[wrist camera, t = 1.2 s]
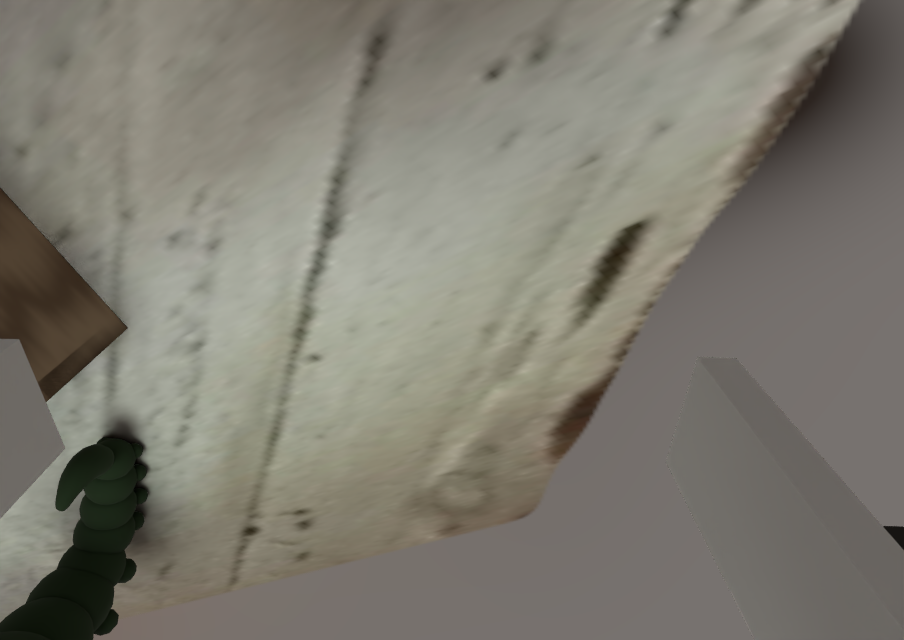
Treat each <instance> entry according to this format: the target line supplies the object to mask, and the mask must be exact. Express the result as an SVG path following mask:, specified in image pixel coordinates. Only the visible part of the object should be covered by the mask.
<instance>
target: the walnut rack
mask: <svg viewBox="0 0 904 640" xmlns="http://www.w3.org/2000/svg"><path fill="white" fill-rule="evenodd" d="M126 329H127V327H126V326H125V325H124V324H123V323H122V321H121V320H120V319H119V318H118V317H117V316H116V315H115V314H114V313H113V312H112V310H111V309H110V308H109V307H108V306H107V305H106V304H105V303H104V302H103V301H102V299H101V298H100V297H99V296H98V295H97V294H96V293H95V292H94V291H93V290H92V289H91V287H90V286H89V285H88V284H87V283H86V282H85V281H84V280H83V279H82V278H81V276H80V275H79V274H78V273H77V272H76V271H75V270H74V269H73V268H72V267H71V265H70V264H69V263H68V262H67V261H66V260H65V259H64V258H63V257H62V256H61V254H60V253H59V252H58V251H57V250H56V249H55V248H54V247H53V246H52V245H51V243H50V242H49V241H48V240H47V239H46V238H45V237H44V236H43V235H42V234H41V232H40V231H39V230H38V229H37V228H36V227H35V226H34V225H33V224H32V223H31V221H30V220H29V219H28V218H27V217H26V216H25V215H24V214H23V213H22V212H21V211H20V209H19V208H18V207H17V206H16V205H15V204H14V203H13V202H12V201H11V200H10V198H9V197H8V196H7V195H6V194H5V193H4V192H3V191H2V190H1V189H0V339H19V340H20V343H21V345H22V347H23V350H24V352H25V354H26V357H27V359H28V361H29V364H30V366H31V368H32V371H33V373H34V376H35V378H36V380H37V383H38V385H39V387H40V390H41V392H42V394H43V397H44V399H45V402H47V401H48V400H49V399H50V398H51V397H52V396H53V395H55V394H56V393H57V392H58V391H59V390H60V389H61V388H62V387H63V386H64V385H66V384H67V383H68V382H69V381H70V380H71V379H72V378H73V377H74V376H76V375H77V374H78V373H79V372H80V371H81V370H82V369H83V368H84V367H85V366H87V365H88V364H89V363H90V362H91V361H92V360H93V359H94V358H95V357H96V356H98V355H99V354H100V353H101V352H102V351H103V350H104V349H105V348H106V347H108V346H109V345H110V344H111V343H112V342H113V341H114V340H115V339H116V338H117V337H119V336H120V335H121V334H122V333H123V332H124V331H125V330H126Z"/></svg>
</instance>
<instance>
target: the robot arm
mask: <svg viewBox="0 0 904 640" xmlns="http://www.w3.org/2000/svg"><path fill="white" fill-rule="evenodd" d="M64 449H65V446H64V444H63V442H62V439H61V437H60V435H59V432H58V430H57V427H56V425H55V423H54V420H53V418H52V416H51V413H50V411H49V409H48V406H47V404H46V402H45V399H44V397H43V394H42V392H41V390H40V387H39V385H38V383H37V380H36V378H35V376H34V373H33V371H32V368H31V366H30V364H29V361H28V359H27V357H26V354H25V352H24V350H23V347H22V345H21V343H20V340H19V339H0V518H1V517H2V516H3V515H4V514H5V513H6V512H7V511H8V510H9V509H10V508H11V506H12V505H13V504H14V503H15V502H16V501H17V500H18V499H19V498H20V497H21V496H22V495H23V494H24V492H25V491H26V490H27V489H28V488H29V487H30V486H31V485H32V484H33V483H34V482H35V481H36V479H37V478H38V477H39V476H40V475H41V474H42V473H43V472H44V471H45V470H46V469H47V468H48V467H49V465H50V464H51V463H52V462H53V461H54V460H55V459H56V458H57V457H58V456H59V455H60V454H61V452H62V451H63V450H64ZM666 464H667V466H668V468H669V470H670V472H671V474H672V476H673V478H674V480H675V482H676V484H677V486H678V488H679V490H680V492H681V494H682V496H683V498H684V500H685V502H686V504H687V506H688V508H689V510H690V512H691V514H692V516H693V518H694V520H695V522H696V524H697V526H698V528H699V530H700V532H701V534H702V536H703V538H704V540H705V542H706V544H707V546H708V548H709V550H710V552H711V554H712V556H713V558H714V560H715V562H716V564H717V566H718V569H719V571H720V573H721V575H722V577H723V579H724V581H725V583H726V584H727V586H728V589H729V591H730V592H731V595H732V597H733V599H734V601H735V603H736V605H737V607H738V609H739V611H740V613H741V615H742V617H743V619H744V621H745V623H746V625H747V627H748V629H749V631H750V633H751V635H752V637H753V639H754V640H904V527H897V526H882V525H881V524H880V523H879V521H878V520H877V519H876V518H875V517H874V516H873V514H872V513H871V512H870V511H869V510H868V509H867V508H866V506H865V505H864V504H863V503H862V502H861V501H860V500H859V499H858V497H857V496H856V495H855V494H854V493H853V492H852V490H851V489H850V488H849V487H848V486H847V485H846V483H845V482H844V481H843V480H842V479H841V478H840V477H839V476H838V474H837V473H836V472H835V471H834V470H833V469H832V467H831V466H830V465H829V464H828V463H827V462H826V461H825V460H824V458H823V457H822V456H821V455H820V454H819V452H818V451H817V450H816V449H815V448H814V447H813V446H812V444H811V443H810V442H809V441H808V440H807V439H806V438H805V436H804V435H803V434H802V433H801V432H800V431H799V430H798V428H797V427H796V426H795V425H794V424H793V423H792V422H791V421H790V419H789V418H788V417H787V416H786V415H785V413H784V412H783V411H782V410H781V409H780V408H779V407H778V405H777V404H776V403H775V402H774V401H773V400H772V399H771V397H770V396H769V395H768V394H767V393H766V392H765V390H764V389H763V388H762V387H761V386H760V385H759V384H758V383H757V381H756V380H755V379H754V378H753V377H752V376H751V375H750V373H749V372H748V371H747V370H746V369H745V368H744V366H743V365H742V364H741V363H740V362H739V361H738V360H737V358H714V357H698V358H697V360H696V364H695V367H694V370H693V374H692V377H691V380H690V384H689V387H688V390H687V394H686V397H685V400H684V403H683V407H682V410H681V413H680V416H679V420H678V423H677V426H676V430H675V433H674V436H673V439H672V443H671V446H670V449H669V453H668V456H667V459H666Z"/></svg>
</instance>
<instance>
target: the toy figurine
mask: <svg viewBox="0 0 904 640" xmlns="http://www.w3.org/2000/svg"><path fill="white" fill-rule="evenodd" d="M142 452H143V448H142V447H141V445H139V444H135V443H132V444H130V443H128V442H126V441H124V440H122V439H117V438H116V439H110V438H107V437H105V438H102V439H100V440H99V441H98V442H97V444H94V445H91V446H88V447H86V448H83V449H82V450H81V451H79V452H78V453H77V454H76V455H74V456H73V457H72V459H71V460H70V461H69V463H68V464H67V466H66V468H65V469H64V471H63V473H62V475H61V478H60V481H59V485H58V489H57V495H56V503H55V505H56V509H57V510H59V511H64V510H66V509H67V508H68V507H69V506H70V504H71V503H72V502H73V501H74V499H75V498H76V497H77V495H78V494H79V493H80V492H81V491H82V490H83V489H84V491H85V494H86V495H85V496H84V497H83V499H82V502H81V505H80V509H79V510H80V516H81V519H80V520H79V521H78V523H77V525H76V527H75V530H74V534H73V544H74V545H73V546H72V547H70V548H69V549H68V550H67V552H66V553H65V554H64V555H63V557H62V558H61V560H60V562H59V564H58V567H57V570H55V571H53V572H51V573H50V574H49V575H47V576H46V577H45V578H43V579H42V580H41V581H40V583H39V584H38V585H37V586H36V587H35V588H34V590H33V591H32V592H31V593H30V595H29V597H28V599H27V602H26V604H25V605H22V606H21V607H19V608H18V609H16V610H15V611H14V612H12V613H11V614H10V615H8V616H7V617H6V618H5V619H4V620H3V621H2V622H1V623H0V640H93V634H97V635H104V634H107V633H110V632H111V631H112V629H113V628H114V627H115V626H116V625H117V623H118V616H119V615H118V614H117V613H116V612H115V610H114V609H111V607H112V605H113V598H114V586H115V585H116V584H117V583H125V582H127V581H129V580H131V578H132V577H133V576H134V574H135V572H136V564H135V562H134V561H133V560H132V559H127V558H126V554H125V551H124V549H125V548H126V547H127V546H128V545H129V544H130V542H131V540H132V537H133V535H134V533H135V530H138V529H139V528H141V527H142V525H143V523H144V516H143V514H142V513H140V512H134V511H135V509H136V506H137V504H142V503H144V502H145V501H146V499H147V496H148V493H147V491H146V490H145V489H140V488H136V489H134V487H135V485H136V482H137V481H140V480H142V479H143V478H144V477H145V476H146V473H147V470H146V468H145V467H144V466H143V465H137V464H136V465H134V463H135V460H136V459H137V458H139V457H140V456H141V455H142ZM133 465H134V466H133Z"/></svg>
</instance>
